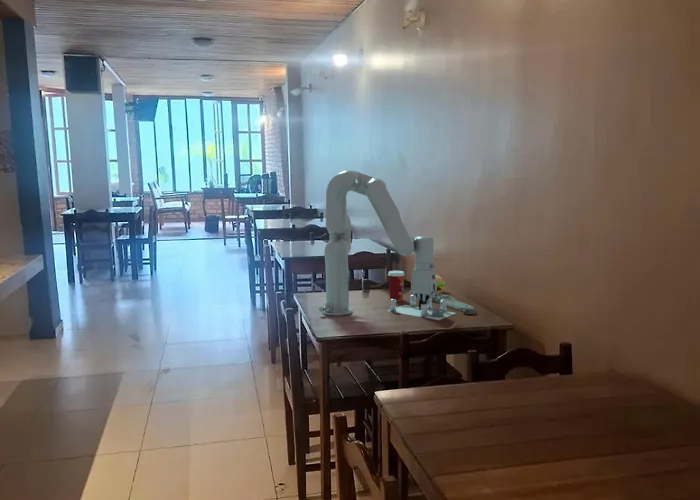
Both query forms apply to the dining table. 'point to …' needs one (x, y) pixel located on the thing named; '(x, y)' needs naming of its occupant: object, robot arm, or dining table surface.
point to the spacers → (423, 306)
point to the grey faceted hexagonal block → (437, 312)
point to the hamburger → (439, 284)
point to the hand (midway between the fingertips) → (422, 309)
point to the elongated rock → (454, 304)
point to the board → (419, 312)
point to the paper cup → (396, 285)
